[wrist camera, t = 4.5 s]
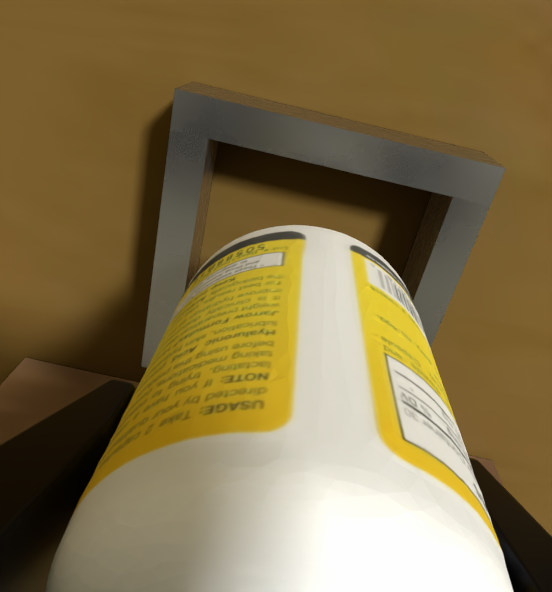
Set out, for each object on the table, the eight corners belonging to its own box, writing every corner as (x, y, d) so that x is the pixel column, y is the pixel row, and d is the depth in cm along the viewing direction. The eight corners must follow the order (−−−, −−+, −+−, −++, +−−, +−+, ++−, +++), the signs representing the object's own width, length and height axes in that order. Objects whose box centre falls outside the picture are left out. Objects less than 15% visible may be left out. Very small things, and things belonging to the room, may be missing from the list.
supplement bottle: (164, 391, 13) (-141, 1088, 4) (208, 187, 11) (-272, 840, 2) (369, 445, 14) (459, 1202, 5) (456, 259, 11) (969, 1099, 2)
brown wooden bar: (492, 460, 20) (542, 583, 16) (472, 497, 21) (514, 622, 16) (25, 357, 19) (-63, 454, 15) (25, 399, 20) (-58, 502, 16)
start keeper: (483, 152, 15) (506, 168, 13) (390, 386, 19) (398, 423, 17) (192, 82, 15) (175, 88, 13) (158, 334, 19) (141, 366, 17)
